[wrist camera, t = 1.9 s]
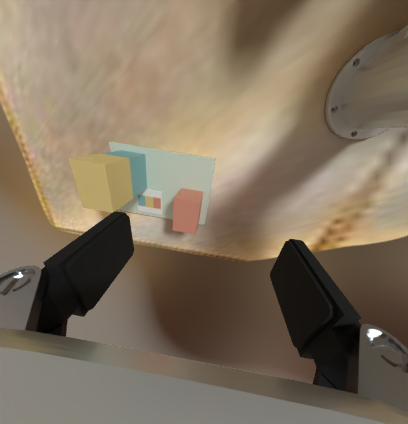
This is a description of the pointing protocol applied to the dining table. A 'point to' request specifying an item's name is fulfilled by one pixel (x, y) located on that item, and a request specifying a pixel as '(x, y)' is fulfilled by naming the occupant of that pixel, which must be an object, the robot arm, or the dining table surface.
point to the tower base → (109, 179)
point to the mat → (172, 177)
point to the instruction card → (150, 201)
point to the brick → (187, 210)
